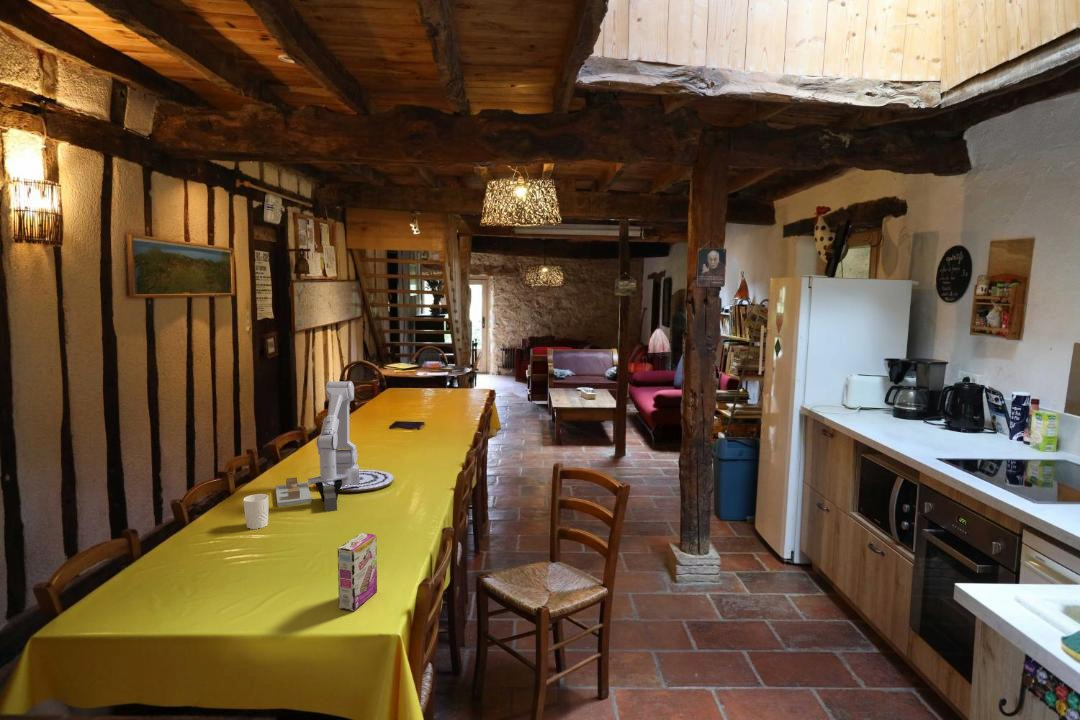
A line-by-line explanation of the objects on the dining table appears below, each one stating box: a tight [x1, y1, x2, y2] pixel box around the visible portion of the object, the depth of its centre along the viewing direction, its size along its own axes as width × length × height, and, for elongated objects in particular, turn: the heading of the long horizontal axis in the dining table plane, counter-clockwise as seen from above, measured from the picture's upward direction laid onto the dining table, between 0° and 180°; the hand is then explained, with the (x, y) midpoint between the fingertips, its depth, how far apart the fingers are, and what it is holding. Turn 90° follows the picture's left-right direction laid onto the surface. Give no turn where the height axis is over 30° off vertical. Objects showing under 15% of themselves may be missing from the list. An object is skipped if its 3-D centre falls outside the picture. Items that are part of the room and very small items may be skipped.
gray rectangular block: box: [323, 484, 338, 513], centre depth 236 cm, size 4×16×5 cm, turn 23°
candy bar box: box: [337, 532, 378, 612], centre depth 164 cm, size 11×5×16 cm, turn 163°
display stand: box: [275, 476, 313, 507], centre depth 246 cm, size 12×22×4 cm, turn 25°
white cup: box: [242, 493, 270, 530], centre depth 215 cm, size 8×8×10 cm
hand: (329, 500), depth 236 cm, fingers closed on gray rectangular block, 4 cm apart
